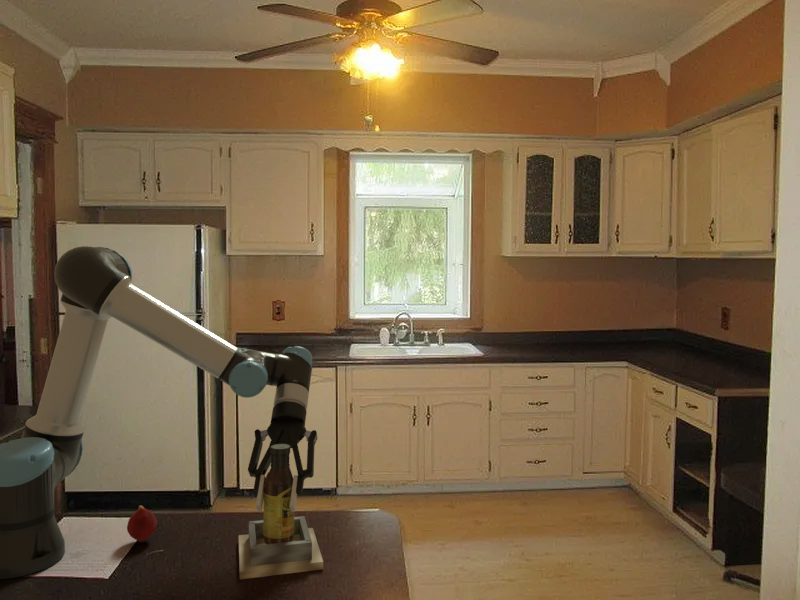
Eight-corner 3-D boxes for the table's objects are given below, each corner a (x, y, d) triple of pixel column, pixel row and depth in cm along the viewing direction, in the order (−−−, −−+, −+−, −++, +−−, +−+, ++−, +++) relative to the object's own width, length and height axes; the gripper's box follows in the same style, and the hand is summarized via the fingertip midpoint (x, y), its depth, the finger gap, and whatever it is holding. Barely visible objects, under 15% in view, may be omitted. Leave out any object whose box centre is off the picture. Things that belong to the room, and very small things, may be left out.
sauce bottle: (287, 550, 121) (288, 452, 120) (257, 546, 122) (258, 450, 121) (298, 535, 128) (300, 443, 126) (271, 532, 129) (272, 440, 128)
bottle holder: (239, 579, 115) (239, 553, 115) (238, 542, 131) (238, 519, 130) (323, 569, 120) (323, 544, 119) (312, 534, 135) (312, 512, 135)
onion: (157, 534, 134) (157, 499, 133) (155, 546, 128) (155, 509, 128) (128, 537, 132) (128, 502, 131) (125, 549, 126) (125, 512, 126)
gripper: (333, 417, 139) (324, 516, 124) (250, 416, 139) (231, 515, 124) (331, 400, 134) (321, 501, 118) (244, 398, 133) (224, 500, 118)
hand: (275, 508), depth 121 cm, fingers closed on sauce bottle, 6 cm apart
